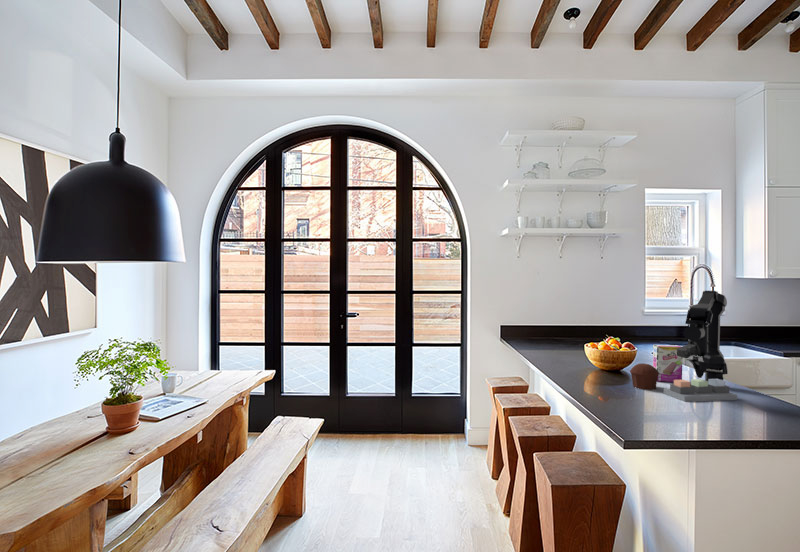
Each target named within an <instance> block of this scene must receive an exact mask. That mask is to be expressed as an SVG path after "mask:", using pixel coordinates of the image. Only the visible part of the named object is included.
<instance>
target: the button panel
mask: <svg viewBox="0 0 800 552" xmlns="http://www.w3.org/2000/svg"><path fill="white" fill-rule="evenodd" d="M669 386H670V387H669V388H663V394H664V395H666V396H669V397H671V398H675V399H677V400H679V401H682V402H708V401H709V402H710V401H712V402H713V401H717V402H718V401H737V400H738V394H737V393H733V392H730V386H729V385H726V384H725V386H713V385H709V384H708V387H697V386H694V385H691V383H690V387H678V386H675V385H674V383H671V384H669Z"/></svg>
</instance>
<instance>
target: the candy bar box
mask: <svg viewBox="0 0 800 552" xmlns="http://www.w3.org/2000/svg"><path fill="white" fill-rule="evenodd" d="M680 347H682V345H681V346H680V345H677V344H675V345H674V344H653V345H652V366H653V367H654V368H656V370H657V371H658V372H659V375H658V378H657V382H658V383H659V382H661V383H674V380H683V357H679V356H677V348H680Z"/></svg>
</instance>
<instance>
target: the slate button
mask: <svg viewBox="0 0 800 552" xmlns="http://www.w3.org/2000/svg"><path fill="white" fill-rule="evenodd" d="M708 384H709V385H713V386H725V385H726V380H724V379H723V380H720V379H708Z"/></svg>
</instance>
